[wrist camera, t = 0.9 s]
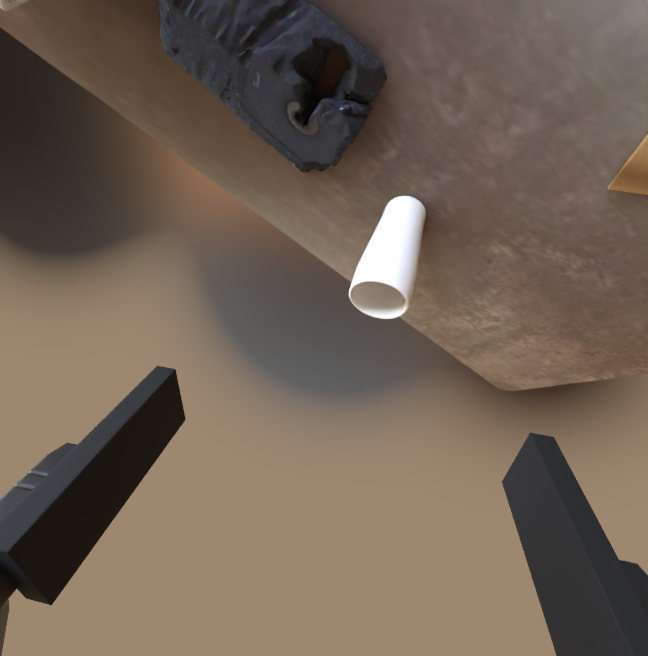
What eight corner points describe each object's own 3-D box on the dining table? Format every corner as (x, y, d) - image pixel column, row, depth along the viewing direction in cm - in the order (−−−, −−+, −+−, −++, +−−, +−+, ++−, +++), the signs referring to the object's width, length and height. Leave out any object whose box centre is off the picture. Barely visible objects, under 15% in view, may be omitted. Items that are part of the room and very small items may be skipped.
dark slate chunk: (183, -157, 24) (144, -150, 21) (402, 77, 31) (391, 102, 29) (158, 48, 36) (132, 67, 34) (319, 181, 43) (306, 204, 41)
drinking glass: (419, 179, 39) (390, 273, 31) (441, 223, 43) (420, 315, 35) (370, 200, 43) (335, 286, 36) (394, 237, 47) (367, 323, 40)
